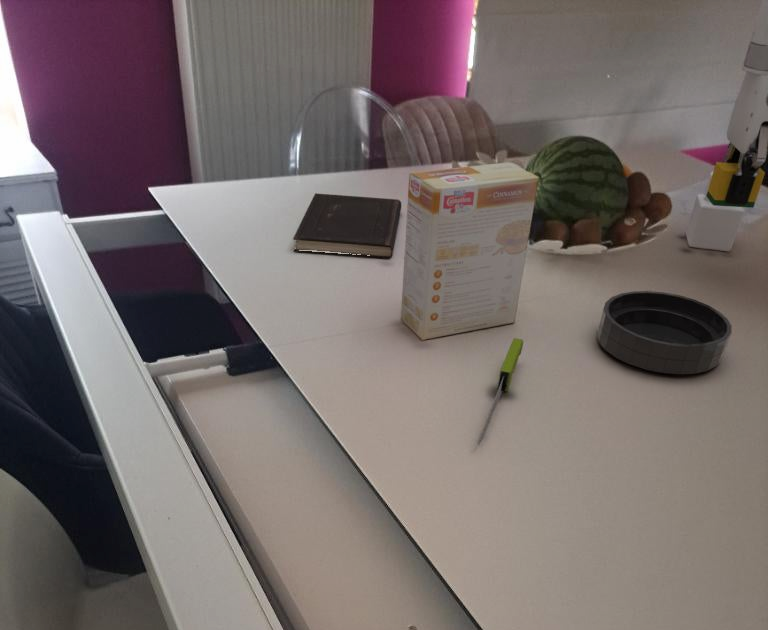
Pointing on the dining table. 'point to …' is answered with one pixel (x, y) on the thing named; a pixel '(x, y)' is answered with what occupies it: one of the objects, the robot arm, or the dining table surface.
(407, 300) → the coffeecake box
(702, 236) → the medicine bottle
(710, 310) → the bowl
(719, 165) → the sponge
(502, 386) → the kitchen knife
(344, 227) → the hardcover book
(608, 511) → the dining table surface
